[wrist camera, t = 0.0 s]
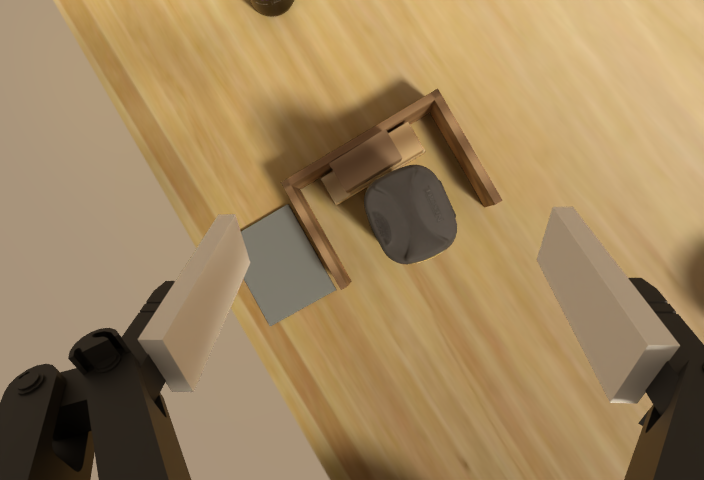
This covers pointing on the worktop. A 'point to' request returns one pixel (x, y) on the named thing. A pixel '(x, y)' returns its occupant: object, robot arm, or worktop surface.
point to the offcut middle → (400, 149)
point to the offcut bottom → (337, 189)
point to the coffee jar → (410, 214)
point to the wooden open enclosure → (410, 114)
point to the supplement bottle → (272, 6)
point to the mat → (283, 266)
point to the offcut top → (366, 161)
